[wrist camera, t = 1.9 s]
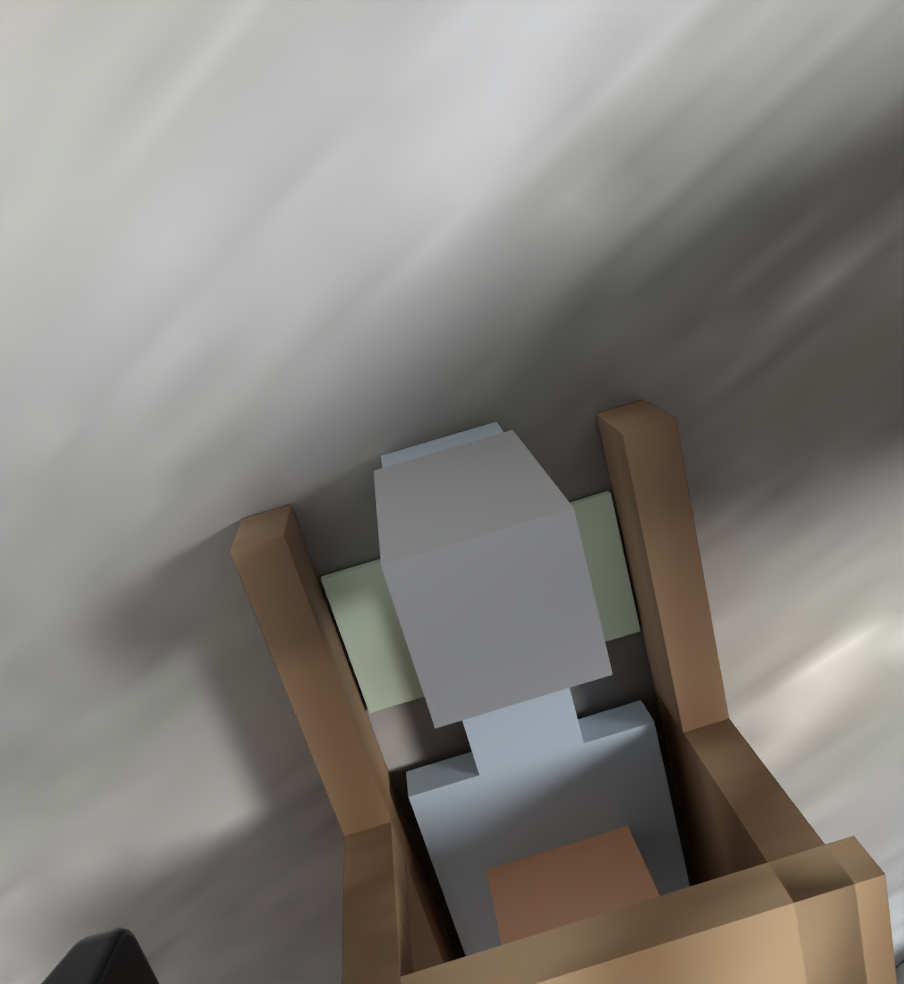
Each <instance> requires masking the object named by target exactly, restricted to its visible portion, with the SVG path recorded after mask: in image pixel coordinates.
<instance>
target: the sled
mask: <svg viewBox="0 0 904 984" xmlns="http://www.w3.org/2000/svg"><path fill="white" fill-rule="evenodd" d="M381 462H382V468H381V469H378V470H374V471H373V472H374V484H375V497H376V510H377V522H378V535H379V548H380V560H381V567H382V570H383V573H384V577H385V580H386V583H387V586H388V589H389V592H390V595H391V598H392V601H393V604H394V607H395V610H396V613H397V616H398V619H399V622H400V625H401V628H402V631H403V634H404V637H405V640H406V643H407V646H408V649H409V652H410V655H411V658H412V661H413V664H414V667H415V670H416V673H417V676H418V679H419V682H420V685H421V688H422V691H423V694H424V697H425V700H426V703H427V706H428V709H429V712H430V715H431V718H432V721H433V724H434V727H435V728H439V727H442V726H445V725H449V724H452V723H455V722H459V721H463V725H464V728H465V731H466V734H467V737H468V740H469V743H470V747H471V750H472V752H469V753H466V754H463V755H459V756H456V757H453V758H450V759H446V760H443V761H440V762H436V763H433V764H430V765H427V766H423V767H420V768H417V769H413V770H410V771H407V772H406V776H407V787H408V797H409V800H410V803H411V805H412V808H413V811H414V814H415V817H416V819H417V822H418V825H419V828H420V831H421V833H422V836H423V839H424V842H425V844H426V847H427V850H428V853H429V856H430V858H431V861H432V864H433V867H434V869H435V872H436V875H437V878H438V881H439V883H440V886H441V889H442V892H443V894H444V897H445V900H446V903H447V906H448V908H449V911H450V914H451V917H452V920H453V922H454V925H455V928H456V931H457V933H458V936H459V939H460V942H461V945H462V947H463V950H464V953H465V956H469V955H472V954H475V953H479V952H482V951H485V950H488V949H491V948H495V947H498V946H501V940H500V935H499V930H498V925H497V921H496V916H495V911H494V906H493V901H492V896H491V891H490V886H489V882H488V877H487V872H486V869H489V868H493V867H496V866H499V865H502V864H506V863H509V862H512V861H515V860H519V859H522V858H525V857H528V856H532V855H535V854H538V853H541V852H545V851H548V850H551V849H554V848H558V847H561V846H564V845H567V844H570V843H574V842H577V841H580V840H583V839H587V838H590V837H593V836H596V835H600V834H603V833H606V832H609V831H613V830H616V829H619V828H622V827H626V826H628V827H629V829H630V831H631V834H632V836H633V838H634V840H635V842H636V845H637V847H638V849H639V851H640V853H641V856H642V858H643V860H644V862H645V864H646V866H647V869H648V871H649V873H650V875H651V877H652V880H653V882H654V884H655V886H656V888H657V891H658V893H659V895H660V896H662V895H665V894H668V893H671V892H675V891H678V890H681V889H684V888H687V887H690V884H689V879H688V875H687V870H686V866H685V861H684V856H683V852H682V847H681V843H680V838H679V833H678V829H677V824H676V820H675V815H674V810H673V806H672V801H671V797H670V792H669V787H668V783H667V778H666V774H665V769H664V764H663V760H662V755H661V751H660V746H659V741H658V737H657V732H656V728H655V723H654V721H653V719H652V717H651V716H650V714H649V712H648V711H647V709H646V707H645V706H644V704H643V702H642V701H641V700H640V701H636V702H633V703H630V704H627V705H623V706H620V707H617V708H613V709H610V710H607V711H604V712H600V713H597V714H594V715H591V716H587V717H584V718H581V719H577V715H576V711H575V707H574V703H573V699H572V695H571V691H570V687H574V686H577V685H580V684H584V683H587V682H590V681H593V680H597V679H600V678H603V677H607V676H610V675H613V674H612V669H611V665H610V661H609V657H608V652H607V648H606V644H605V639H604V635H603V631H602V627H601V622H600V618H599V614H598V609H597V605H596V601H595V597H594V592H593V588H592V584H591V579H590V575H589V571H588V567H587V562H586V558H585V554H584V549H583V545H582V541H581V537H580V532H579V528H578V524H577V519H576V515H575V511H574V508H573V506H572V505H571V504H570V503H569V501H568V500H567V499H566V497H565V496H564V495H563V494H562V492H561V491H560V490H559V488H558V487H557V486H556V485H555V483H554V482H553V481H552V479H551V478H550V477H549V476H548V474H547V473H546V472H545V471H544V469H543V468H542V467H541V465H540V464H539V463H538V462H537V460H536V459H535V458H534V456H533V455H532V454H531V453H530V451H529V450H528V449H527V447H526V446H525V445H524V444H523V442H522V441H521V440H520V438H519V437H518V436H517V435H516V433H515V432H514V431H513V430H509V431H506V432H503V430H502V429H501V427H500V426H499V425H498V423H497V422H493V423H490V424H487V425H483V426H480V427H476V428H473V429H470V430H466V431H463V432H460V433H456V434H453V435H449V436H446V437H443V438H439V439H436V440H432V441H429V442H426V443H422V444H419V445H415V446H412V447H409V448H405V449H402V450H399V451H395V452H392V453H388V454H385V455H382V456H381Z"/></svg>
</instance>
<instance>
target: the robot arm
mask: <svg viewBox="0 0 904 984" xmlns="http://www.w3.org/2000/svg"><path fill="white" fill-rule="evenodd" d="M42 984H159V982H158V981H157V979H156V977H155V975H154V973H153V971H152V969H151V967H150V965H149V963H148V961H147V959H146V957H145V955H144V953H143V951H142V949H141V947H140V945H139V943H138V941H137V939H136V938H135V936H134V935H133V933H132V932H131V931H129V930H128V929H126V928H117V929H113V930H110V931H106V932H103V933H99V934H96V935H93V936H89V937H86V938H84V939H82V940H80V941H79V942H78V943H77V944H76V945H75V946H74V947H73V948H72V949H71V950H70V951H69V952H68V953H67V955H66V956H65V957H64V958H63V959H62V960H61V961H60V963H59V964H58V965H57V966H56V967H55V968H54V970H53V971H52V972H51V973H50V974H49V975H48V977H47V978H46V979H45V980H44V981H43V982H42Z"/></svg>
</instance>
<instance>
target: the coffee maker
mask: <svg viewBox="0 0 904 984" xmlns="http://www.w3.org/2000/svg"><path fill="white" fill-rule="evenodd" d="M895 971H896V980H897V984H904V962H903V963H902V964H900V965H899V966H898V967H897V968H896V969H895Z"/></svg>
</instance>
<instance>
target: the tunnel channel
mask: <svg viewBox="0 0 904 984" xmlns="http://www.w3.org/2000/svg"><path fill="white" fill-rule="evenodd" d="M596 416H597V420H598V425H599V430H600V434H601V439H602V444H603V448H604V453H605V458H606V462H607V467H608V472H609V476H610V481H611V486H612V491H613V495H614V500H615V505H616V509H617V514H618V519H619V523H620V528H621V533H622V537H623V542H624V547H625V551H626V556H627V561H628V566H629V570H630V575H631V580H632V584H633V589H634V594H635V598H636V603H637V608H638V612H639V617H640V622H641V626H642V631H643V636H644V641H645V645H646V650H647V655H648V659H649V664H650V669H651V673H652V678H653V683H654V687H655V692H656V697H657V701H658V706H659V711H660V716H661V720H662V725H663V730H664V734H665V739H666V744H667V748H668V753H669V758H670V762H671V767H672V772H673V776H674V781H675V786H676V790H677V795H678V800H679V805H680V809H681V814H682V819H683V823H684V828H685V833H686V837H687V842H688V847H689V851H690V856H691V861H692V865H693V870H694V875H695V880H696V884H697V885H694V886H691V887H687V888H684V889H681V890H678V891H675V892H671V893H668V894H665V895H662V896H659V897H655V898H652V899H649V900H646V901H642V902H639V903H636V904H633V905H630V906H626V907H623V908H620V909H617V910H614V911H610V912H607V913H604V914H601V915H597V916H594V917H591V918H588V919H585V920H581V921H578V922H575V923H572V924H569V925H565V926H562V927H559V928H556V929H552V930H549V931H546V932H543V933H540V934H536V935H533V936H530V937H527V938H524V939H520V940H517V941H514V942H511V943H507V944H504V945H501V946H498V947H495V948H491V949H488V950H485V951H482V952H479V953H475V954H472V955H469V956H466V957H462V958H459V959H457V958H456V956H455V953H454V950H453V947H452V945H451V942H450V939H449V936H448V934H447V931H446V928H445V926H444V923H443V920H442V917H441V915H440V912H439V909H438V906H437V904H436V901H435V898H434V895H433V893H432V890H431V887H430V884H429V882H428V879H427V876H426V874H425V871H424V868H423V865H422V863H421V860H420V857H419V854H418V852H417V849H416V846H415V843H414V841H413V838H412V835H411V832H410V830H409V827H408V824H407V822H406V819H405V816H404V813H403V811H402V808H401V805H400V802H399V800H398V797H397V794H396V791H395V789H394V786H393V783H392V780H391V778H390V775H389V772H388V770H387V767H386V764H385V761H384V759H383V756H382V753H381V750H380V748H379V745H378V742H377V739H376V737H375V734H374V731H373V728H372V726H371V723H370V720H369V718H368V715H367V712H366V709H365V707H364V704H363V701H362V698H361V696H360V693H359V690H358V687H357V685H356V682H355V679H354V676H353V674H352V671H351V668H350V666H349V663H348V660H347V657H346V655H345V652H344V649H343V646H342V644H341V641H340V638H339V635H338V633H337V630H336V627H335V625H334V622H333V619H332V616H331V614H330V611H329V608H328V605H327V603H326V600H325V597H324V594H323V592H322V589H321V586H320V583H319V581H318V578H317V575H316V573H315V570H314V567H313V564H312V562H311V559H310V556H309V553H308V551H307V548H306V545H305V542H304V540H303V537H302V534H301V531H300V529H299V526H298V523H297V521H296V518H295V515H294V512H293V510H292V507H291V504H290V505H286V506H283V507H280V508H276V509H273V510H270V511H266V512H263V513H259V514H256V515H253V516H249V517H246V518H243V519H242V520H241V522H240V525H239V527H238V530H237V533H236V535H235V538H234V540H233V543H232V546H231V548H230V551H229V552H230V554H231V557H232V559H233V562H234V564H235V567H236V569H237V572H238V574H239V577H240V579H241V581H242V584H243V586H244V589H245V591H246V594H247V596H248V599H249V601H250V604H251V606H252V609H253V611H254V614H255V616H256V619H257V621H258V624H259V626H260V629H261V631H262V634H263V636H264V639H265V641H266V644H267V646H268V648H269V651H270V653H271V656H272V658H273V661H274V663H275V666H276V668H277V671H278V673H279V676H280V678H281V681H282V683H283V686H284V688H285V691H286V693H287V696H288V698H289V701H290V703H291V706H292V708H293V711H294V713H295V715H296V718H297V720H298V723H299V725H300V728H301V730H302V733H303V735H304V738H305V740H306V743H307V745H308V748H309V750H310V753H311V755H312V758H313V760H314V763H315V765H316V768H317V770H318V773H319V775H320V778H321V780H322V782H323V785H324V787H325V790H326V792H327V795H328V797H329V800H330V802H331V805H332V807H333V810H334V812H335V815H336V817H337V820H338V822H339V825H340V827H341V830H342V832H343V835H344V882H343V943H342V984H897V980H896V971H895V961H894V952H893V942H892V933H891V923H890V914H889V904H888V895H887V885H886V876H885V873H884V872H883V871H882V870H881V868H880V867H879V866H878V865H877V864H876V862H875V861H874V860H873V859H872V857H871V856H870V855H869V854H868V853H867V851H866V850H865V849H864V848H863V847H862V845H861V844H860V843H859V842H858V840H857V839H856V838H855V837H854V836H851V837H848V838H845V839H842V840H839V841H835V842H832V843H829V844H826V845H825V844H824V843H823V841H822V840H821V839H820V837H819V836H818V835H817V833H816V832H815V831H814V829H813V828H812V827H811V825H810V824H809V823H808V822H807V820H806V819H805V818H804V816H803V815H802V814H801V812H800V811H799V810H798V808H797V807H796V806H795V804H794V803H793V802H792V801H791V799H790V798H789V797H788V795H787V794H786V793H785V791H784V790H783V789H782V787H781V786H780V785H779V783H778V782H777V781H776V780H775V778H774V777H773V776H772V774H771V773H770V772H769V770H768V769H767V768H766V766H765V765H764V764H763V762H762V761H761V760H760V759H759V757H758V756H757V755H756V753H755V752H754V751H753V749H752V748H751V747H750V745H749V744H748V743H747V741H746V740H745V739H744V738H743V736H742V735H741V734H740V732H739V731H738V730H737V728H736V727H735V726H734V724H733V723H732V722H731V720H730V719H729V716H728V710H727V704H726V699H725V693H724V687H723V682H722V676H721V671H720V665H719V659H718V654H717V648H716V643H715V637H714V631H713V626H712V620H711V614H710V609H709V603H708V598H707V592H706V586H705V581H704V575H703V570H702V564H701V558H700V553H699V547H698V541H697V536H696V530H695V525H694V519H693V513H692V508H691V502H690V496H689V491H688V485H687V480H686V474H685V468H684V463H683V457H682V452H681V446H680V440H679V435H678V429H677V423H676V419H675V418H674V417H672V416H670V415H669V414H667V413H665V412H664V411H662V410H660V409H659V408H657V407H655V406H654V405H652V404H650V403H649V402H647V401H645V400H641V401H638V402H634V403H631V404H628V405H624V406H621V407H618V408H614V409H611V410H607V411H604V412H601V413H597V414H596ZM569 503H570V504H571V505H572V506H573V508H574V511H575V515H576V519H577V524H578V528H579V532H580V537H581V541H582V545H583V549H584V554H585V558H586V562H587V567H588V571H589V575H590V579H591V584H592V588H593V592H594V597H595V601H596V605H597V609H598V614H599V618H600V622H601V627H602V631H603V635H604V639H605V642H606V641H610V640H613V639H616V638H620V637H623V636H626V635H630V634H633V633H636V632H639V631H640V627H639V622H638V617H637V613H636V608H635V603H634V599H633V594H632V589H631V585H630V580H629V575H628V571H627V566H626V561H625V557H624V552H623V547H622V543H621V538H620V533H619V529H618V524H617V519H616V515H615V510H614V505H613V501H612V496H611V493H610V492H609V491H606V492H602V493H599V494H596V495H592V496H589V497H586V498H582V499H579V500H576V501H572V502H569ZM321 581H322V584H323V587H324V590H325V592H326V595H327V598H328V601H329V603H330V606H331V609H332V612H333V614H334V617H335V620H336V623H337V625H338V628H339V631H340V634H341V636H342V639H343V642H344V645H345V647H346V650H347V653H348V656H349V658H350V661H351V664H352V666H353V669H354V672H355V675H356V677H357V680H358V683H359V686H360V688H361V691H362V694H363V697H364V699H365V702H366V705H367V708H368V710H369V713H372V712H375V711H379V710H382V709H385V708H389V707H392V706H395V705H398V704H402V703H405V702H408V701H412V700H415V699H418V698H422V697H424V694H423V691H422V688H421V685H420V682H419V679H418V676H417V673H416V670H415V667H414V664H413V661H412V658H411V655H410V652H409V649H408V646H407V643H406V640H405V637H404V634H403V631H402V628H401V625H400V622H399V619H398V616H397V613H396V610H395V607H394V604H393V601H392V598H391V595H390V592H389V589H388V586H387V583H386V580H385V577H384V573H383V570H382V567H381V560H380V559H378V560H374V561H371V562H368V563H364V564H361V565H358V566H354V567H351V568H348V569H344V570H341V571H338V572H334V573H331V574H328V575H324V576H321Z"/></svg>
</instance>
